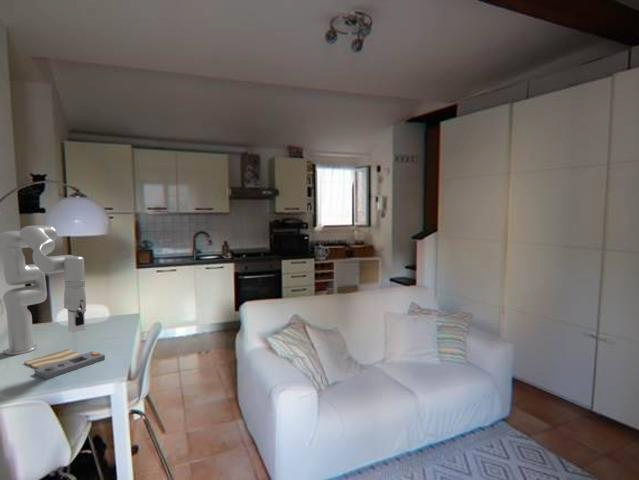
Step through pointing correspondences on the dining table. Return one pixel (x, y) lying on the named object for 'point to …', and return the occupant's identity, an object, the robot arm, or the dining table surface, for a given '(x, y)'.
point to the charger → (72, 323)
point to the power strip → (69, 365)
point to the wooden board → (51, 358)
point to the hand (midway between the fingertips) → (76, 323)
